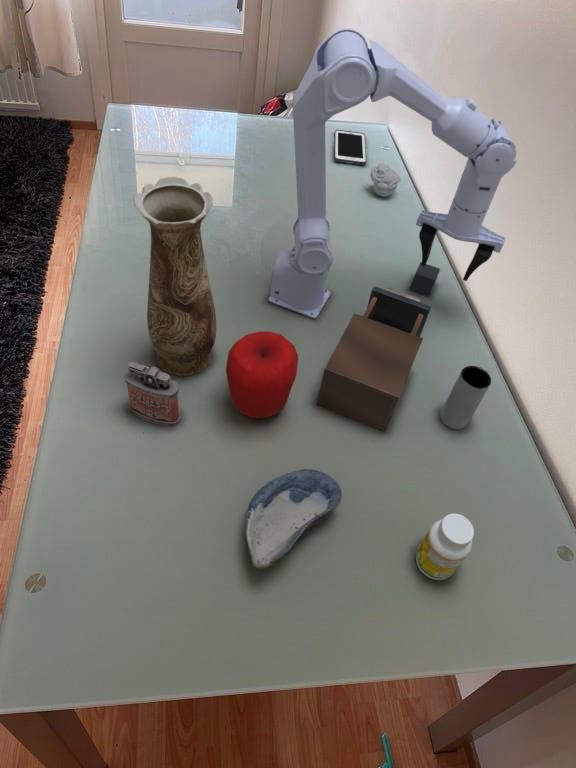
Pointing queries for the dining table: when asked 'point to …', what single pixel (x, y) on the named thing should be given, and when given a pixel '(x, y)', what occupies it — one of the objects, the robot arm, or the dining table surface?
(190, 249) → the vase
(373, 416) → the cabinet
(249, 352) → the apple
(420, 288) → the block
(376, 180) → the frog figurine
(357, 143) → the cell phone
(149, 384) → the lighter
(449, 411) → the gray cylindrical tube
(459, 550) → the supplement bottle
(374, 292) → the drawer
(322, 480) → the seashell
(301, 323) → the dining table surface
